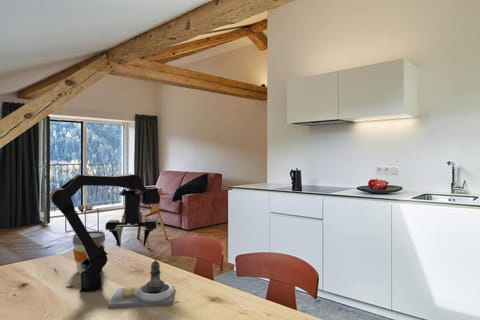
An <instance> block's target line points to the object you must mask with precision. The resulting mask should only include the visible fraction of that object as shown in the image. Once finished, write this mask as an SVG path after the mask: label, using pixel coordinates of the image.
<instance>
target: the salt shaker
mask: <svg viewBox="0 0 480 320" xmlns="http://www.w3.org/2000/svg"><path fill="white" fill-rule="evenodd" d="M160 266H161V265H160V262H159V261H157V259H154V261H153V262H151V265H150V272H149V274H150V281H148V282H146V283H145V284H146V285H147V287H148V290H149V291H150V292H148V294H157V293H161V292H163V291H161V289H162V288H163V284H164V282H165V281H163V280H162V279H161V278H160V277H161V273H162V271H160Z"/></svg>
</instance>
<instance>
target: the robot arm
mask: <svg viewBox="0 0 480 320" xmlns="http://www.w3.org/2000/svg"><path fill="white" fill-rule="evenodd" d="M83 186H84V187H86V186H87V187H88V186H90V187H91V186H94V187H95V186H98V187H118V188H119V187H120V188H123V189H122V190H121V191H120V192H119V193H118V195H119V196H121V197H124V210H123V219H124V221H120V220H119V219H110V220H108V221H107V222H106V223H105V226H104V228H105V230H106V231H108V232H109V233H111V234H112V235H113V237H114V238H115V241H116V243H117V246H118V247H119V248H121V247H122V238H121V228H134V227H135V228H136V227H137V228H142V227H144V228H145V229H144V234H143V247H146V243H147V241H148V239H149V235H150V233H151V232H153V231H154V230H157V228H158V226H159V225H158V224H159V221H158V219H157V218H156V219H155V218H154V219H153V218H151V219H146V221H143V212H141V204H142V205H143V206H153V205H154V206H155V205H160V201H161V195H160V192H159V189H158V187H156V186H155V187H148V188H147V187H146V186H145V185H144V184H143V181H142V177H140V175H138V174H134V173H125V174H118V175H98V174H97V175H95V174H94V175H92V174H80V173H77V174H76V175H74V176H73V177H72V178H71V179H69V181H67V182H65V183H64V184H63V185H61V187H56V188H54V189H52V191H51V192H50V194H49V199H50V202H51V203H52V204H54V205H55V207H56V208H57V210H59V211H60V212H61V213H62V214H63V216H64V218H65V219H66V220H67V223H68V224H69V226H70V227H71V229H72V230H73V232H74V235H75V234H76V235H77V237H78V239H79V240H80V242H81V244H82V245H83V247H84V251H85V254H86V257H87V258H86V259H85V260H84V261H83V262H82V263H81V267H82V269H83V270H84V271H83V272H82V273H80V288H79V290H78V291H79V293H81V292H85V293H86V292H99V290H100V289H101V288H102V287H103V286H104V274H103V269H104V267H105V266H106V264H107V263H108V260H109V259H108V255H109V254H108V252H107V251H105V248H103V245H102V244H101V243H99V242H98V243H97V244H95V243H94V241H93V239H92V238H91V236H90V234H89V233H88V230H87V228H86V226H85V225H84V223H83V221H82V219H81V218H80V216H79V214H78V213H77V212H76V208H75V205H74V201H73V199H72V198H73V196H75V195H76V194H77V193H78V192H79V191H80V189H81V188H83ZM127 189H128V190H127ZM136 191H138V192H136Z"/></svg>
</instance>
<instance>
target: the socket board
mask: <svg viewBox="0 0 480 320" xmlns="http://www.w3.org/2000/svg"><path fill="white" fill-rule="evenodd" d="M163 282H164V284H163V288H162V289H161V291H163V292H161V293H157V294H148V292H150V291H149V290H148V287H147V285H146V284H147V283H145V284H143V285H141V286H134V287H133V286H126V287H117V288H116V290H115V291H114V293H113V294H112V297H111V299H110V300H109V301H108V303H107V308H109V309H111V308H114V309H115V308H133V307H134V308H135V307H137V308H138V307H157V306H172V305H173V299H174V296H175V295H174V294H175V290H176V289H175V288H176V286H175V285H171V284H170V283H169V282H165V281H163Z"/></svg>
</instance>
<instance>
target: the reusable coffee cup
mask: <svg viewBox="0 0 480 320" xmlns="http://www.w3.org/2000/svg"><path fill="white" fill-rule="evenodd" d="M87 231H88V230H87ZM88 233H89V234H90V236H91V238H92V239H93V241H94V243H95V244H97V243H98V242H99V243H101V244H102V245H103V248H104V249H105V248H106V246H105V242H106V235H105V232H104V231H98V230H92V231H91V230H89V231H88ZM72 244H73V249H72V250H73V256H74V257H73V258H74V261H75V263H76V270H77V273H78V274H81V273H82V272H83V271H84V270H83V269H82V267H81V263H82V262H83V261H84V260H85V259H86V258H87V257H86V254H85V251H84V247H83V245H82V244H81V242H80V240H79V239H78V237H77V235H76V234H75V233H74V234H73V236H72Z"/></svg>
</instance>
